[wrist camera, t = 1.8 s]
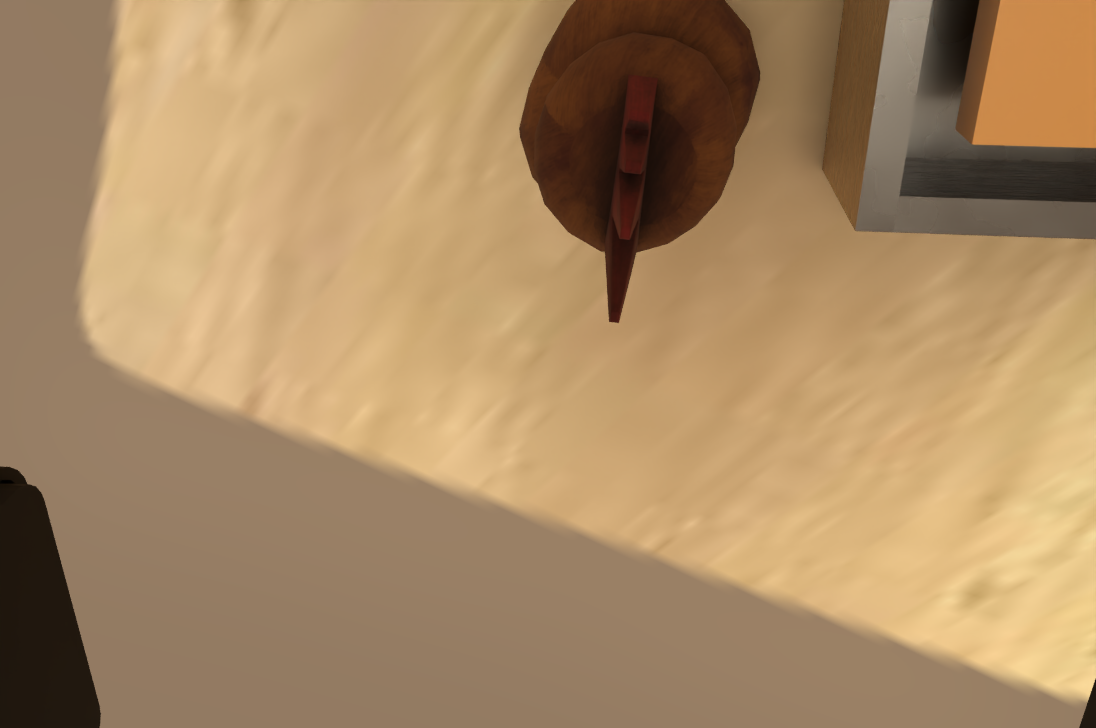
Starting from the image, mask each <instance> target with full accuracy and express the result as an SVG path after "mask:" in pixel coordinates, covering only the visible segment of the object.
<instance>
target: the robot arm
mask: <svg viewBox="0 0 1096 728" xmlns="http://www.w3.org/2000/svg"><path fill="white" fill-rule="evenodd" d="M100 715H101V713H100V706H99V702H98V699H97V695H96V691H95V687H94V683H93V680H92V676H91V673H90V669H89V665H88V661H87V657H86V654H85V650H84V646H83V643H82V639H81V635H80V631H79V628H78V624H77V621H76V616H75V613H74V609H73V605H72V602H71V598H70V594H69V590H68V587H67V583H66V579H65V575H64V572H63V568H62V564H61V561H60V557H59V553H58V550H57V546H56V542H55V538H54V535H53V531H52V527H51V523H50V520H49V516H48V512H47V508H46V505H45V501H44V498H43V496H42V494H41V492H40V491H39V490H38V489H37V487H35V486H32V485H28V484H27V482H26V480H25V478H24V476H23V475H22V474H21V473H20V472H19V471H18V470H16V469H13V468H11V467H0V728H99V726H100ZM1079 728H1096V679H1095V682H1094V685H1093V688H1092V691H1091V694H1090V697H1089V700H1088V703H1087V706H1086V709H1085V712H1084V715H1083V718H1082V721H1081V724H1080V727H1079Z"/></svg>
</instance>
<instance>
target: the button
mask: <svg viewBox="0 0 1096 728" xmlns="http://www.w3.org/2000/svg"><path fill="white" fill-rule="evenodd" d="M955 130H956V131H957V132H959V133H960V134H961V135H962V136H963V137H964V138H965V139H966V140H967V141H969V142H970V143H971V144H972V145H1005V146H1042V147H1079V148H1096V0H980V1H979V6H978V11H977V16H976V22H975V27H974V32H973V38H972V43H971V48H970V53H969V59H968V64H967V69H966V75H965V80H964V85H963V90H962V96H961V101H960V106H959V112H958V117H957V122H956V127H955Z"/></svg>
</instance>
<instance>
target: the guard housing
mask: <svg viewBox="0 0 1096 728" xmlns="http://www.w3.org/2000/svg"><path fill="white" fill-rule="evenodd" d="M979 1H980V0H844V8H843V15H842V23H841V31H840V38H839V46H838V54H837V61H836V69H835V76H834V84H833V92H832V99H831V107H830V115H829V122H828V130H827V138H826V145H825V153H824V160H823V168H822V170H823V172H824V174H825V175H826V177H827V179H828V181H829V183H830V185H831V187H832V188H833V190H834V192H835V194H836V196H837V198H838V200H839V202H840V203H841V205H842V207H843V209H844V211H845V213H846V215H847V217H848V218H849V220H850V222H851V224H852V226H853V228H854V230H855V231H873V232H901V233H930V234H959V235H987V236H1016V237H1045V238H1074V239H1096V148H1079V147H1042V146H1005V145H972V144H971V143H970V142H969V141H967V140H966V139H965V138H964V137H963V136H962V135H961V134H960V133H959V132H957V131H956V130H955V127H956V122H957V117H958V112H959V106H960V101H961V96H962V90H963V85H964V80H965V75H966V69H967V64H968V59H969V53H970V48H971V43H972V38H973V32H974V27H975V22H976V16H977V11H978V6H979Z"/></svg>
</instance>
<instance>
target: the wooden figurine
mask: <svg viewBox="0 0 1096 728" xmlns="http://www.w3.org/2000/svg"><path fill="white" fill-rule="evenodd" d="M759 81H760V70H759V66H758V62H757V58H756V54H755V50H754V46H753V42H752V38H751V34H750V30H749V29H748V28H747V26H746V25H745V24H744V23H743V22H742V20H741V19H740V18H739V17H738V16H737V14H736V13H735V12H734V11H733V10H732V9H731V7H730V6H729V5H728V4H727V3H726V1H725V0H576V1H575V2H574V3H573V4H572V6H571V7H570V8H569V10H568V11H567V13H566V14H565V16H564V18H563V19H562V21H561V23H560V25H559V26H558V28H557V30H556V32H555V34H554V35H553V37H552V39H551V41H550V42H549V44H548V46H547V48H546V50H545V52H544V54H543V56H542V59H541V61H540V63H539V66H538V68H537V70H536V73H535V75H534V78H533V80H532V82H531V85H530V87H529V90H528V94H527V99H526V103H525V107H524V111H523V115H522V119H521V123H520V128H519V130H520V138H521V141H522V144H523V148H524V151H525V154H526V157H527V161H528V164H529V167H530V170H531V174H532V177H533V178H534V179H535V181H536V182H537V183H538V185H539V188H540V191H541V194H542V197H543V201H544V204H545V205H546V206H547V207H548V209H549V210H550V211H551V212H552V213H553V215H554V216H555V217H556V218H557V219H558V220H559V222H560V223H561V224H562V225H563V226H564V228H565V229H566V230H567V231H568V232H569V233H571V234H572V235H574V236H576V237H577V238H579V239H581V240H582V241H584V242H586V243H588V244H589V245H591V246H593V247H594V248H596V249H598V250H599V251H603V252H605V258H606V277H607V294H608V311H609V322H616V323H619V320H620V316H621V312H622V308H623V304H624V300H625V296H626V292H627V288H628V284H629V280H630V276H631V272H632V268H633V264H634V259H635V255H636V252H640V251H643V250H647V249H651V248H654V247H658V246H661V245H665V244H668V243H670V242H671V241H673V240H674V239H676V238H678V237H679V236H681V235H682V234H684V233H685V232H687V231H688V230H690V229H692V228H693V227H695V226H696V225H697V224H698V223H699V221H700V220H701V219H702V218H703V217H704V216H705V215H706V214H707V213H708V211H709V210H710V209H711V208H712V207H713V206H714V205H715V204H716V203H717V201H718V200H719V198H720V197H721V195H722V192H723V190H724V187H725V185H726V182H727V180H728V177H729V175H730V172H731V170H732V167H733V163H734V154H735V146H736V144H737V143H738V141H739V139H740V137H741V135H742V133H743V131H744V129H745V127H746V125H747V123H748V120H749V116H750V113H751V109H752V106H753V102H754V98H755V95H756V91H757V88H758V84H759Z"/></svg>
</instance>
